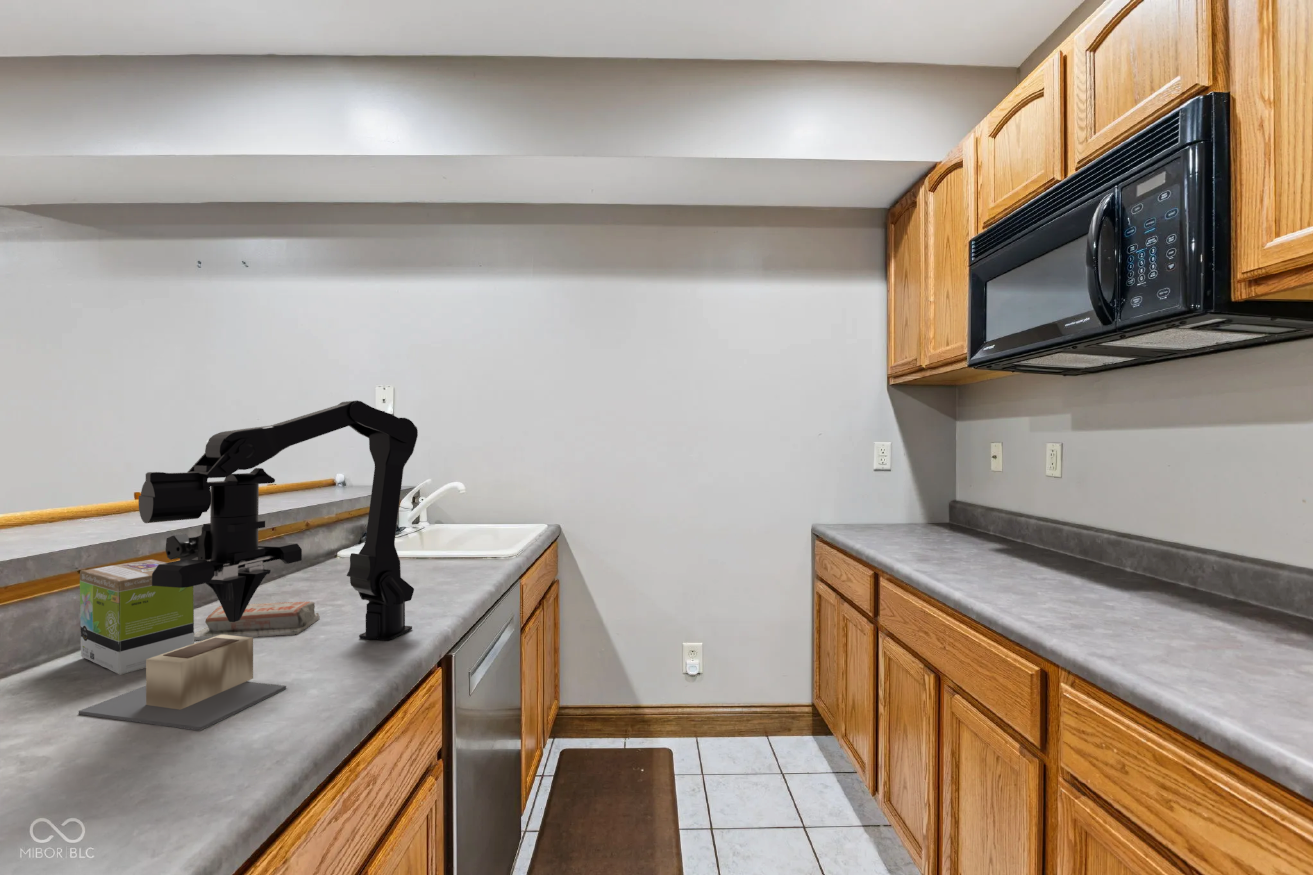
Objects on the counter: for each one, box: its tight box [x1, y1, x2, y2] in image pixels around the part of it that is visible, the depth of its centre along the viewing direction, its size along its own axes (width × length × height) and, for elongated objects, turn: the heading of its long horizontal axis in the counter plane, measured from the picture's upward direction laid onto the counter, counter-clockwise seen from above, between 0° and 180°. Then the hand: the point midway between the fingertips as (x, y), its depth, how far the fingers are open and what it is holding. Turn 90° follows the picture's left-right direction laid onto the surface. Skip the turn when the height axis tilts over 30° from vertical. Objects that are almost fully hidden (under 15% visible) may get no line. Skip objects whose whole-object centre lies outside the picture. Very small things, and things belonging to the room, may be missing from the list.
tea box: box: [79, 558, 195, 676], centre depth 93 cm, size 15×10×15 cm
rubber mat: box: [78, 681, 287, 731], centre depth 77 cm, size 12×20×1 cm, turn 77°
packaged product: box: [194, 601, 321, 641], centre depth 107 cm, size 18×5×10 cm
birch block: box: [145, 634, 254, 710], centre depth 79 cm, size 6×6×10 cm
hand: (234, 621), depth 83 cm, fingers closed
